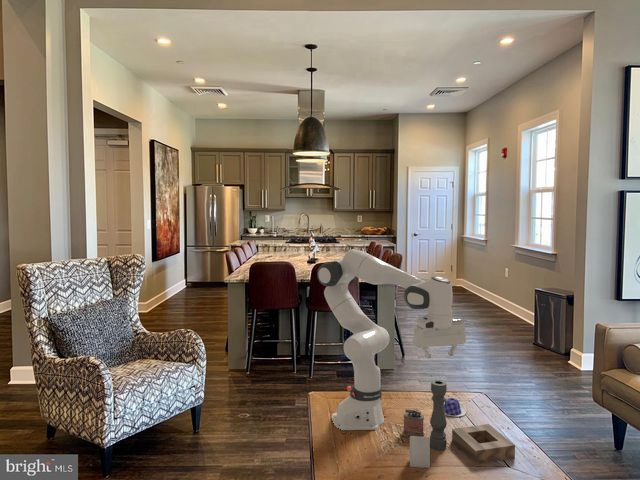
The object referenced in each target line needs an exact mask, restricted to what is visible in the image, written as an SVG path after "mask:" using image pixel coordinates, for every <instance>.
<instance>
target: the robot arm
mask: <svg viewBox="0 0 640 480" xmlns="http://www.w3.org/2000/svg"><path fill="white" fill-rule="evenodd" d="M316 275H317V280H318V281H319V283H320V284H321V285H323V286H324V287H325V288H324V291H323V295H324V298H325V301H326V302H327V304H328V306H329V308H330V311H331V312H332V313H333V315H334V317H335V319H337V321H338V323H339V324H340V326H341V327H342V328H343V329H346V330H348V331H350V332H351V333H352V335H350V336H349V337H348V338H347V339H346V340H345V342H344V343H343V351H344V355H345V356H346V357H347V358H348V359H349V360H350V361H351V363H352V366H353V367H352V368H353V373H354V374H353V375H354V376H353V377H354V385H353V386H352V387H351V385H348V386H346V390H347V392H348V393H349V395H348V396H347V397H346V398H345V399H343V400H342V401H341V402H339V403H338V404H337V409H336V412H334V413H332V415H331V421H333V422H332V424H333V423H334V424H333V425H334V427H336V429H338V428H339V429H338V430H340V429H341V430H340V431H369V430H371V431H372V430H375V431H376V430H377V429H378V428H379V426H380V425H382V424H383V423H384V422H385V417H384V414H383V408H382V393H383V392H382V386H381V369H380V368H379V366H378V365H376V361H375V355H376V354H378V353H381V352H382V351H383V350H384V349H385V348H387V346H388V345H389V343H390V341H391V340H390V334H389V333H388V330H387V329H386V328H385V327H382V326H379V325H378V324H376V323H375V322H374V321H372V320H371V319H370V318H369V317H368V316H367V315H366V314H365V313H364V312H363V310H362V309H361V308H360V306H359V305H358V303H357V302H356V300H355V299H354V297H353V295H352V294H351V293H350V291H349V286H352V285H353V284H354V282H355V280H356V279H357V278H358V279H360V280H361V281H363V282H366V283H368V284H370V285H396V286H399V287H401V288H403V289H405V290H404V293H403V299H404V301H405V304H406V306H407V307H408V308H410V309H412V310H425V309H426V310H427V314H425V315H423V316H420V317H418V318H416V319H415V322H414V323H415V326H414V329H413V333H412V335H413V336H412V343H413V345H414V346H415V347H417V348H419V349H420V348H422V350H423V352H424V353H425V354H424V357H425V358H426V359H431V358H432V353H431V352H429V351H428V350H429V348H431V347H443V346H451V347H450V349H448V350H447V356H449V357H454V355H455V351H456V349H457V347H458V346H457V345H464V344H465V343H466V341H467V337H466V336H467V335H466V330H465V329H466V322H465V320H463V319H462V318H458V319H456V318H455V319H454V318H453V310H452V305H453V296H454V294H453V286H452V282H451V281H450V280H449V279H448V278H446V277H442V276H437V275H436V276H431V277H429V279H427V278H426V279H425V278H420V277H419V276H416V275H414V274H412V273H409V272H407V271H405V270H402V269H399V267H398V268H397V267H395V266H393V265H391V264H390V263H387V262H385V261H383V260H382V259H379V258H377V257H376V256H373V255H372V254H370V253H367V252H365V251H363V250H359V249H355V248H353V249H349V250H348V251H346V252H345V254H344V255H343V258H337V259H334V260H332V261H327V262H324V263H323V264H321V265H320V266H319V267H318V269H317V274H316Z"/></svg>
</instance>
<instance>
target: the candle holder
mask: <svg viewBox="0 0 640 480" xmlns="http://www.w3.org/2000/svg"><path fill="white" fill-rule="evenodd" d="M447 385H448V384H447V382H446V381H445V380H442V379H432V380H431V382H430V391H431V394H432V397H431V401H432V402H433V404H432V405H433V409H432V412H431V416H430V418H429V419H430V420H429V424H430V426H431V429H432V430H431V431H430V435H429V438H430V449H432V450H434V451H438V452H439V451H441V452H443V451H445V450H446V449H447V446H448V445H447V443H448V442H447V437H446V436H447V434H446V433H445V429H446V428H447V426H448V425H447V423H448V422H447V417H446V415H445V414H446V413H445V412H444V403H445V401H446V399H447V398H446V397H445V395H446V394H447V392H448V391H447V390H448V389H447V388H448V387H447Z"/></svg>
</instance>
